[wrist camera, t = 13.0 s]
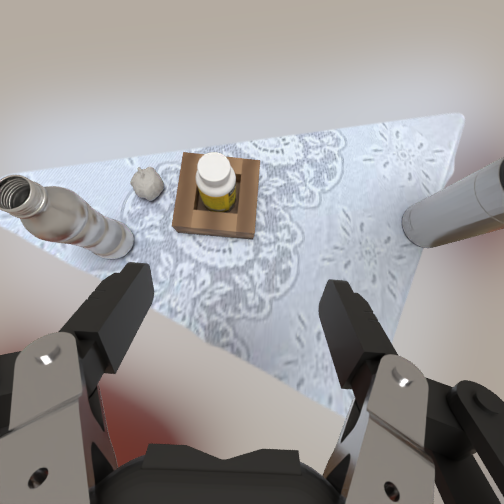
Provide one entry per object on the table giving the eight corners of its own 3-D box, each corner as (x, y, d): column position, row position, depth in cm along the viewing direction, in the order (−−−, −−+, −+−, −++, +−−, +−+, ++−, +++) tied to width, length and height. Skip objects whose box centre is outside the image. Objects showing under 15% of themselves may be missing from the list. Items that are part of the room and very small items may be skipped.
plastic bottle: (142, 229, 42) (59, 167, 22) (131, 265, 40) (32, 232, 21) (107, 222, 42) (-8, 153, 22) (95, 258, 40) (-40, 218, 21)
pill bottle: (235, 216, 42) (235, 187, 32) (202, 215, 42) (190, 185, 31) (236, 185, 44) (236, 148, 33) (203, 184, 43) (192, 146, 32)
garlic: (139, 175, 44) (126, 158, 39) (167, 176, 44) (158, 160, 39) (136, 204, 43) (122, 191, 38) (165, 204, 43) (155, 192, 38)
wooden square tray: (258, 172, 46) (260, 160, 42) (252, 239, 43) (254, 233, 39) (187, 164, 45) (183, 152, 41) (177, 232, 42) (171, 225, 38)
